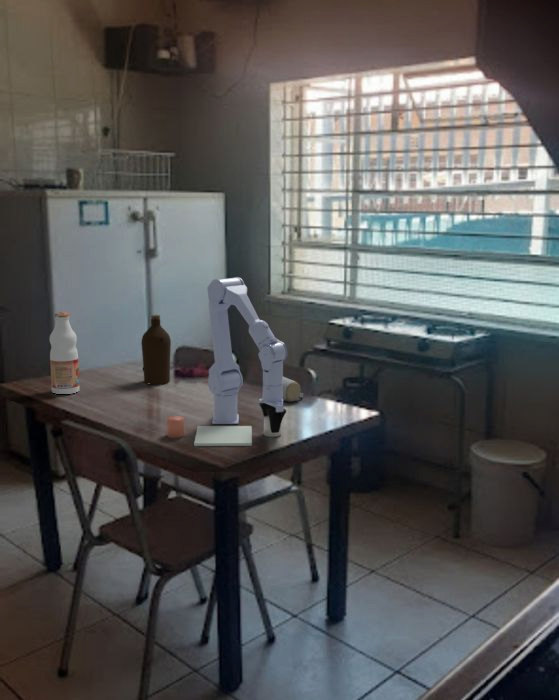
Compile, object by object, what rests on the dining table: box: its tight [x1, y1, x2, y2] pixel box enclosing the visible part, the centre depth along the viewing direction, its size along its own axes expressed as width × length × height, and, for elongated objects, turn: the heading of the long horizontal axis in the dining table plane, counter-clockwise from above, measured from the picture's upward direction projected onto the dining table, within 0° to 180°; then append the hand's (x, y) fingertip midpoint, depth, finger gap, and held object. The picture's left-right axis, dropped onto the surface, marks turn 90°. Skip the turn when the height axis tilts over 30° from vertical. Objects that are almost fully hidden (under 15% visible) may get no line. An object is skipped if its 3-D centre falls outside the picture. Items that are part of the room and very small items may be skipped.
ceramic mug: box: [283, 376, 304, 403], centre depth 259 cm, size 11×8×8 cm
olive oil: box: [141, 314, 172, 385], centre depth 279 cm, size 11×11×25 cm
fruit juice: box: [49, 311, 80, 395], centre depth 263 cm, size 9×9×28 cm
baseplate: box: [193, 425, 253, 447], centre depth 218 cm, size 16×16×1 cm
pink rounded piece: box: [166, 415, 185, 439], centre depth 219 cm, size 5×5×5 cm
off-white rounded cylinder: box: [263, 416, 282, 438], centre depth 220 cm, size 5×5×5 cm
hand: (272, 429), depth 220 cm, fingers closed on off-white rounded cylinder, 5 cm apart
